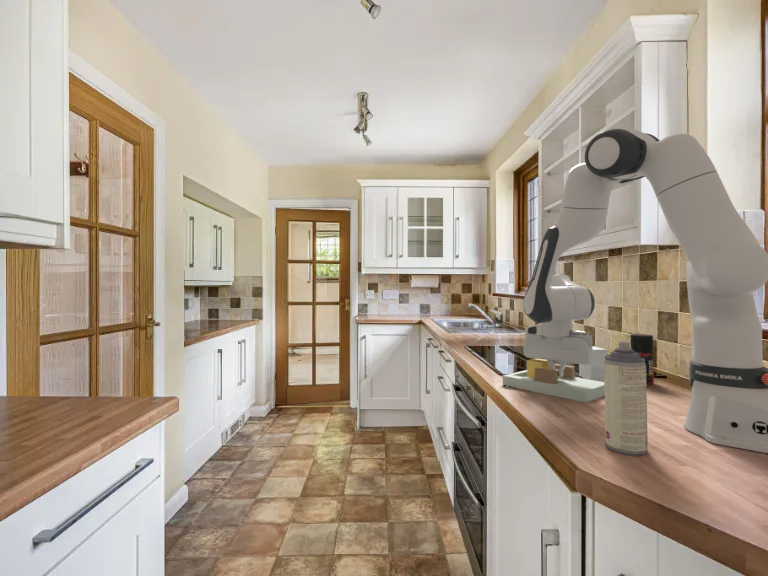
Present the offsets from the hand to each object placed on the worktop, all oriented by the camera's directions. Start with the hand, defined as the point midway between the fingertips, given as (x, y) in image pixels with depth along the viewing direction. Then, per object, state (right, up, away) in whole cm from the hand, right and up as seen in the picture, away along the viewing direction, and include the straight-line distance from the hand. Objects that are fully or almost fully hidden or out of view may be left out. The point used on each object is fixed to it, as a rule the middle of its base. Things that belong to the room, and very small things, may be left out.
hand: (557, 375), depth 120 cm
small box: (+17, -4, +12) cm, 21 cm away
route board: (0, -4, +1) cm, 4 cm away
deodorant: (+30, -4, +7) cm, 31 cm away
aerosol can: (-6, -4, -44) cm, 45 cm away
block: (-4, -1, +5) cm, 6 cm away
